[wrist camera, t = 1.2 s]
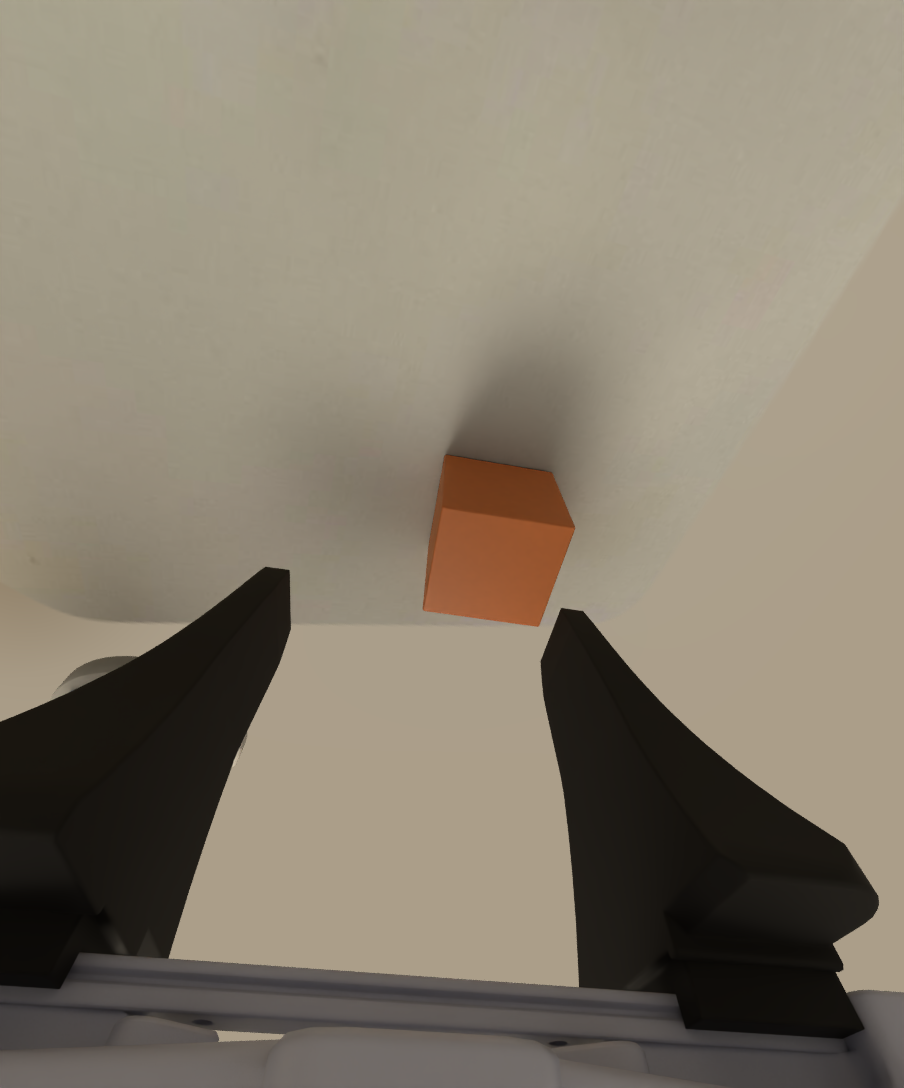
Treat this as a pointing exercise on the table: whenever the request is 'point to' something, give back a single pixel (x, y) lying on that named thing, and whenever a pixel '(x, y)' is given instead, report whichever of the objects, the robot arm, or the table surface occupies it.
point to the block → (495, 542)
